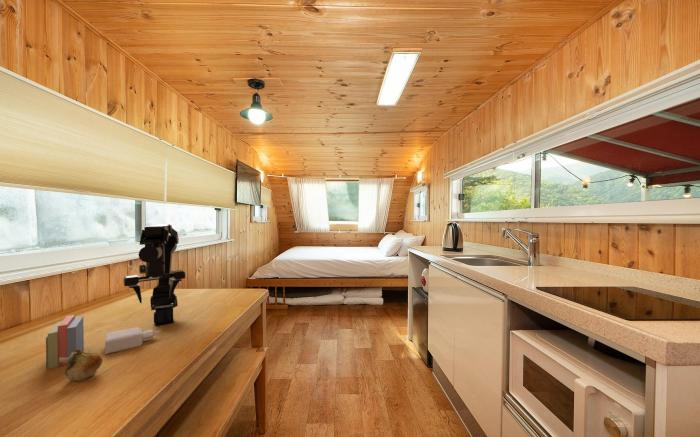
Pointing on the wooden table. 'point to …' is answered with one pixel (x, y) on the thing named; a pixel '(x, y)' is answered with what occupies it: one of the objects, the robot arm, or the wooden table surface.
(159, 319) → the robot arm
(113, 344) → the charger
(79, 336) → the book row
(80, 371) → the onion
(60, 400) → the wooden table surface
